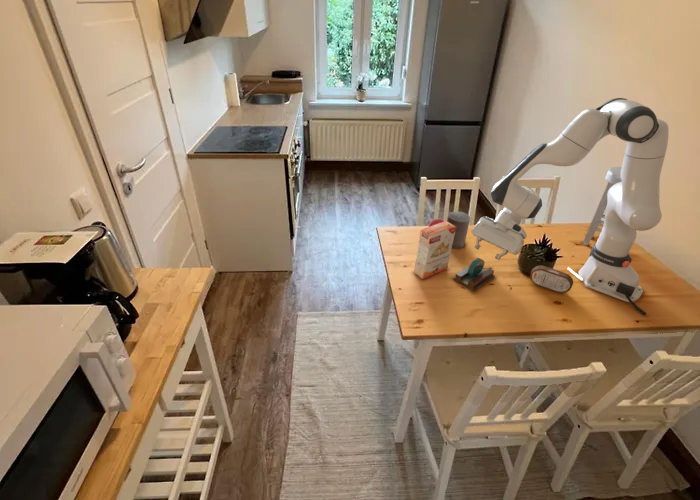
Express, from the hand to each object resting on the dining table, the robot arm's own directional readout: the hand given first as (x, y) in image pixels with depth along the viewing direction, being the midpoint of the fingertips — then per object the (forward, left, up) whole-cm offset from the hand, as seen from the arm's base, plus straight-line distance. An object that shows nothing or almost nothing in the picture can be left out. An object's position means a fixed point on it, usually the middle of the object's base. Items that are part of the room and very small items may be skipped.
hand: (486, 253), depth 152 cm
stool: (-21, -64, -10) cm, 69 cm away
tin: (-22, -13, -10) cm, 28 cm away
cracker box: (+14, +15, -10) cm, 23 cm away
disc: (0, +5, -9) cm, 10 cm away
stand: (0, +5, -10) cm, 11 cm away
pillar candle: (+22, -11, -10) cm, 27 cm away
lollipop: (+24, +1, -10) cm, 26 cm away
